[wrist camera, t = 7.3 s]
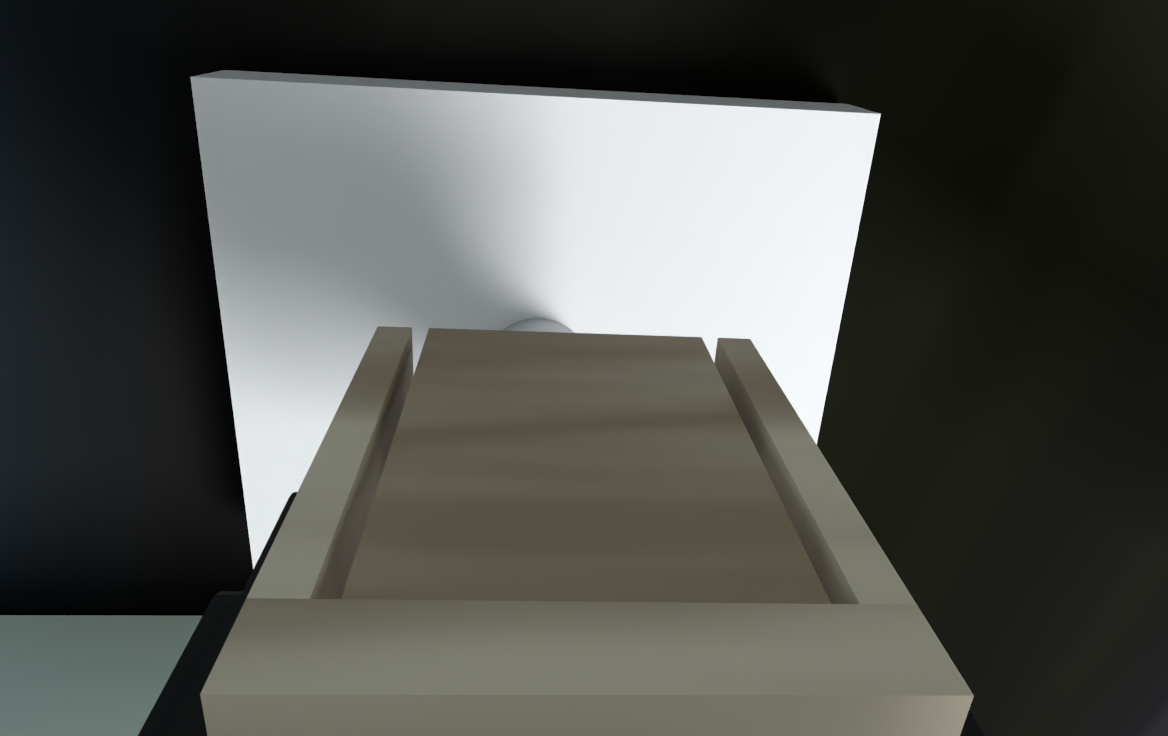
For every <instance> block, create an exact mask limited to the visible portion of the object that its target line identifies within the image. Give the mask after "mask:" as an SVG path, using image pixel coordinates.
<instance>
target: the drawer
mask: <svg viewBox="0 0 1168 736" xmlns="http://www.w3.org/2000/svg"><path fill="white" fill-rule="evenodd" d="M973 696H974V695H973V694H972V692H971V690H970V689H969V687H968V686H967V684H966V682H965V681H964V679H963V678H962V676H961V675H960V673H959V671H958V670H957V668H956V667H955V665H954V663H953V662H952V660H951V659H950V657H949V655H948V654H947V652H946V651H945V649H944V647H943V646H942V644H941V643H940V641H939V639H938V638H937V636H936V635H935V633H934V631H933V630H932V628H931V627H930V625H929V623H928V622H927V620H926V619H925V617H924V615H923V614H922V612H921V611H920V609H919V608H918V606H917V604H916V603H915V601H914V600H913V598H912V596H911V595H910V593H909V592H908V590H907V588H906V587H905V585H904V584H903V582H902V580H901V579H900V577H899V576H898V574H897V572H896V571H895V569H894V568H893V566H892V564H891V563H890V561H889V560H888V558H887V556H886V555H885V553H884V552H883V550H882V549H881V547H880V545H879V544H878V542H877V541H876V539H875V537H874V536H873V534H872V533H871V531H870V529H869V528H868V526H867V525H866V523H865V521H864V520H863V518H862V517H861V515H860V513H859V512H858V510H857V509H856V507H855V505H854V504H853V502H852V501H851V499H850V497H849V496H848V494H847V493H846V491H845V489H844V488H843V486H842V485H841V483H840V482H839V480H838V478H837V477H836V475H835V474H834V472H833V470H832V469H831V467H830V466H829V464H828V462H827V461H826V459H825V458H824V456H823V454H822V453H821V451H820V450H819V448H818V446H817V445H816V443H815V442H814V440H813V438H812V437H811V435H810V434H809V432H808V430H807V429H806V427H805V426H804V424H803V423H802V421H801V419H800V418H799V416H798V415H797V413H796V411H795V410H794V408H793V407H792V405H791V403H790V402H789V400H788V399H787V397H786V395H785V394H784V392H783V391H782V389H781V387H780V386H779V384H778V383H777V381H776V379H775V378H774V376H773V375H772V373H771V371H770V370H769V368H768V367H767V365H766V364H765V362H764V360H763V359H762V357H761V356H760V354H759V352H758V351H757V349H756V348H755V346H754V344H753V343H752V341H751V340H750V339H740V338H718V340H717V347H716V355H715V362H713V360H712V358H711V355H710V353H709V351H708V349H707V347H706V345H705V343H704V341H703V339H702V337H681V336H652V335H622V334H593V333H563V332H534V331H504V330H475V329H446V328H429V330H428V333H427V336H426V339H425V342H424V345H423V348H422V351H421V354H420V357H419V360H418V364H417V367H416V370H415V373H414V375H413V343H412V327H387V326H378V327H377V329H376V331H375V333H374V335H373V337H372V339H371V341H370V343H369V345H368V347H367V350H366V352H365V354H364V356H363V358H362V360H361V362H360V364H359V366H358V368H357V370H356V372H355V374H354V376H353V379H352V381H351V383H350V385H349V387H348V389H347V391H346V393H345V395H344V397H343V399H342V401H341V403H340V405H339V408H338V410H337V412H336V414H335V416H334V418H333V420H332V422H331V424H330V426H329V428H328V430H327V432H326V434H325V437H324V439H323V441H322V443H321V445H320V447H319V449H318V451H317V453H316V455H315V457H314V459H313V461H312V463H311V466H310V468H309V470H308V472H307V474H306V476H305V478H304V480H303V482H302V484H301V486H300V488H299V490H298V492H297V494H296V497H295V499H294V501H293V503H292V505H291V507H290V509H289V511H288V513H287V515H286V517H285V519H284V521H283V523H282V526H281V528H280V530H279V532H278V534H277V536H276V538H275V540H274V542H273V544H272V546H271V548H270V550H269V552H268V555H267V557H266V559H265V561H264V563H263V565H262V567H261V569H260V571H259V573H258V575H257V577H256V579H255V581H254V584H253V586H252V588H251V590H250V592H249V594H248V596H247V598H246V600H245V602H244V604H243V606H242V608H241V610H240V613H239V615H238V617H237V619H236V621H235V623H234V625H233V627H232V629H231V631H230V633H229V635H228V637H227V639H226V642H225V644H224V646H223V648H222V650H221V652H220V654H219V656H218V658H217V660H216V662H215V664H214V666H213V668H212V671H211V673H210V675H209V677H208V679H207V681H206V683H205V685H204V687H203V689H202V691H201V693H200V697H201V702H202V708H203V713H204V719H205V724H206V730H207V735H208V736H960V734H961V732H962V729H963V726H964V723H965V720H966V717H967V714H968V711H969V708H970V705H971V702H972V699H973Z"/></svg>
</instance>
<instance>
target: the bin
mask: <svg viewBox="0 0 1168 736" xmlns="http://www.w3.org/2000/svg"><path fill="white" fill-rule="evenodd" d="M201 618H202V616H155V615H0V736H138V734H139V732H140V731H141V729H142V727H143V725H144V723H145V721H146V719H147V718H148V716H149V714H150V712H151V710H152V708H153V707H154V705H155V703H156V701H157V699H158V697H159V695H160V694H161V692H162V690H163V688H164V686H165V684H166V682H167V681H168V679H169V677H170V675H171V673H172V671H173V669H174V668H175V666H176V664H177V662H178V660H179V658H180V657H181V655H182V653H183V651H184V649H185V647H186V645H187V644H188V642H189V640H190V638H191V636H192V634H193V632H194V631H195V629H196V627H197V625H198V623H199V621H200V619H201Z"/></svg>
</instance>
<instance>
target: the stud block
mask: <svg viewBox="0 0 1168 736" xmlns="http://www.w3.org/2000/svg"><path fill="white" fill-rule="evenodd" d="M190 78H191V86H192V94H193V102H194V110H195V117H196V125H197V133H198V141H199V149H200V156H201V164H202V172H203V180H204V188H205V196H206V203H207V211H208V219H209V227H210V235H211V243H212V250H213V258H214V266H215V274H216V282H217V290H218V297H219V305H220V313H221V321H222V329H223V337H224V344H225V352H226V360H227V368H228V376H229V383H230V391H231V399H232V407H233V415H234V423H235V430H236V438H237V446H238V454H239V462H240V470H241V477H242V485H243V493H244V501H245V509H246V517H247V524H248V532H249V540H250V548H251V556H252V564H253V569H254V567H255V565H256V563H257V561H258V559H259V557H260V555H261V553H262V551H263V549H264V547H265V545H266V543H267V541H268V539H269V537H270V535H271V533H272V531H273V529H274V527H275V525H276V523H277V521H278V519H279V517H280V515H281V513H282V511H283V509H284V507H285V505H286V503H287V501H288V499H289V497H290V495H291V494H292V493H293V492H298V490H299V488H300V486H301V484H302V482H303V480H304V478H305V476H306V474H307V472H308V470H309V468H310V466H311V463H312V461H313V459H314V457H315V455H316V453H317V451H318V449H319V447H320V445H321V443H322V441H323V439H324V437H325V434H326V432H327V430H328V428H329V426H330V424H331V422H332V420H333V418H334V416H335V414H336V412H337V410H338V408H339V405H340V403H341V401H342V399H343V397H344V395H345V393H346V391H347V389H348V387H349V385H350V383H351V381H352V379H353V376H354V374H355V372H356V370H357V368H358V366H359V364H360V362H361V360H362V358H363V356H364V354H365V352H366V350H367V347H368V345H369V343H370V341H371V339H372V337H373V335H374V333H375V331H376V329H377V327H378V326H387V327H412V343H413V375H414V373H415V370H416V367H417V364H418V360H419V357H420V354H421V351H422V348H423V345H424V342H425V339H426V336H427V333H428V330H429V328H446V329H475V330H504V331H534V332H563V333H593V334H622V335H652V336H681V337H702V339H703V341H704V343H705V345H706V347H707V349H708V351H709V353H710V355H711V358H712V360H713V362H715V355H716V347H717V340H718V338H740V339H750V340H751V341H752V343H753V344H754V346H755V348H756V349H757V351H758V352H759V354H760V356H761V357H762V359H763V360H764V362H765V364H766V365H767V367H768V368H769V370H770V371H771V373H772V375H773V376H774V378H775V379H776V381H777V383H778V384H779V386H780V387H781V389H782V391H783V392H784V394H785V395H786V397H787V399H788V400H789V402H790V403H791V405H792V407H793V408H794V410H795V411H796V413H797V415H798V416H799V418H800V419H801V421H802V423H803V424H804V426H805V427H806V429H807V430H808V432H809V434H810V435H811V437H812V438H813V440H814V442H815V443H816V445H817V440H818V435H819V430H820V424H821V419H822V414H823V409H824V404H825V399H826V394H827V388H828V383H829V378H830V373H831V368H832V363H833V357H834V352H835V347H836V342H837V337H838V332H839V327H840V321H841V316H842V311H843V306H844V301H845V296H846V290H847V285H848V280H849V275H850V270H851V265H852V260H853V254H854V249H855V244H856V239H857V234H858V229H859V223H860V218H861V213H862V208H863V203H864V198H865V193H866V187H867V182H868V177H869V172H870V167H871V162H872V156H873V151H874V146H875V141H876V136H877V131H878V126H879V120H880V115H881V114H879V113H876V112H872V111H869V110H866V109H862V108H859V107H855V106H852V105H848V104H838V103H820V102H802V101H783V100H765V99H747V98H728V97H710V96H692V95H673V94H655V93H637V92H619V91H600V90H582V89H564V88H545V87H527V86H509V85H490V84H472V83H454V82H436V81H417V80H399V79H381V78H362V77H344V76H326V75H307V74H289V73H271V72H253V71H234V70H222V71H217V72H212V73H207V74H202V75H197V76H192V77H190Z"/></svg>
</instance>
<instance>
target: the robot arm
mask: <svg viewBox="0 0 1168 736" xmlns="http://www.w3.org/2000/svg"><path fill="white" fill-rule="evenodd" d="M296 494H297V492H293V493H292V494H291V495H290V497H289V499H288V501H287V503H286V505H285V507H284V509H283V511H282V513H281V515H280V517H279V519H278V521H277V523H276V525H275V527H274V529H273V531H272V533H271V535H270V537H269V539H268V541H267V543H266V545H265V547H264V549H263V551H262V553H261V555H260V557H259V559H258V561H257V563H256V565H255V567H254V569H253V571H252V573H251V575H250V578H249V580H248V582H247V584H246V586H245V588H244V590H243V591H220V592H219V593H217V594H216V595H215V596H214V597H213V599H212V600H211V602H210V603H209V605H208V607H207V608H206V610H205V612H204V614H203V616H202V618H201V619H200V621H199V623H198V625H197V627H196V629H195V631H194V632H193V634H192V636H191V638H190V640H189V642H188V644H187V645H186V647H185V649H184V651H183V653H182V655H181V657H180V658H179V660H178V662H177V664H176V666H175V668H174V669H173V671H172V673H171V675H170V677H169V679H168V681H167V682H166V684H165V686H164V688H163V690H162V692H161V694H160V695H159V697H158V699H157V701H156V703H155V705H154V707H153V708H152V710H151V712H150V714H149V716H148V718H147V719H146V721H145V723H144V725H143V727H142V729H141V731H140V732H139V734H138V736H208V735H207V730H206V724H205V719H204V713H203V708H202V702H201V697H200V693H201V691H202V689H203V687H204V685H205V683H206V681H207V679H208V677H209V675H210V673H211V671H212V668H213V666H214V664H215V662H216V660H217V658H218V656H219V654H220V652H221V650H222V648H223V646H224V644H225V642H226V639H227V637H228V635H229V633H230V631H231V629H232V627H233V625H234V623H235V621H236V619H237V617H238V615H239V613H240V610H241V608H242V606H243V604H244V602H245V600H246V598H247V596H248V594H249V592H250V590H251V588H252V586H253V584H254V581H255V579H256V577H257V575H258V573H259V571H260V569H261V567H262V565H263V563H264V561H265V559H266V557H267V555H268V552H269V550H270V548H271V546H272V544H273V542H274V540H275V538H276V536H277V534H278V532H279V530H280V528H281V526H282V523H283V521H284V519H285V517H286V515H287V513H288V511H289V509H290V507H291V505H292V503H293V501H294V499H295V497H296ZM960 736H984V734H983V732H982V731H981V729H980V728H979V726H978V724H977V723H976V721H975V719H974V718H973V716H972V714H971V713H970V711H968V714H967V717H966V720H965V723H964V726H963V729H962V732H961V734H960Z"/></svg>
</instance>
